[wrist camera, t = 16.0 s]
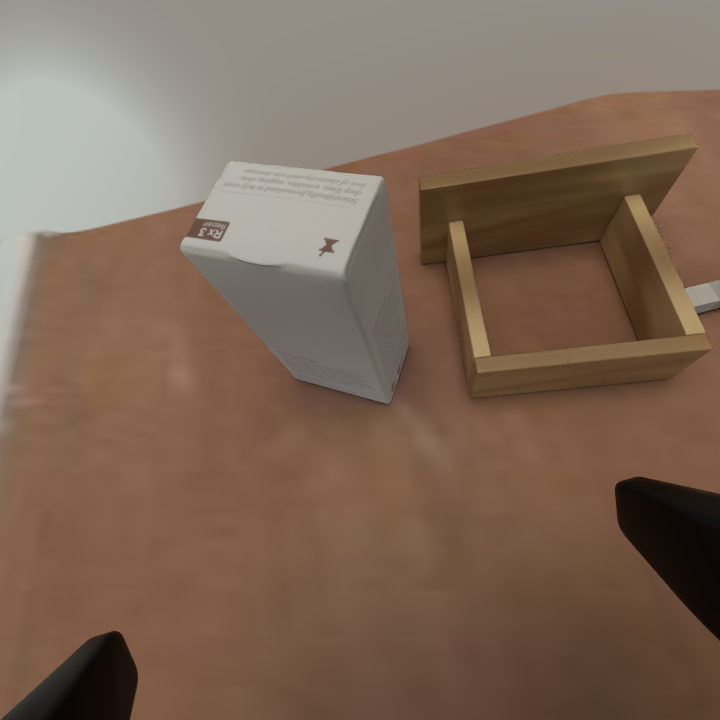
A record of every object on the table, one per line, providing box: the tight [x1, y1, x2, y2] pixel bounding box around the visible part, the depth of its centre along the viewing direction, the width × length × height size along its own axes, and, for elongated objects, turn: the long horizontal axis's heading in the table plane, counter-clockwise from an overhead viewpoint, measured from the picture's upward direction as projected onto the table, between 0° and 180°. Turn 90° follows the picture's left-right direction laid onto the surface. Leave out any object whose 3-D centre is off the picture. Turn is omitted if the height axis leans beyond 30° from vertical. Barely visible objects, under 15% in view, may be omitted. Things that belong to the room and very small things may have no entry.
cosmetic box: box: [180, 161, 410, 404], centre depth 18 cm, size 6×4×12 cm
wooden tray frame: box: [418, 133, 712, 398], centre depth 21 cm, size 10×13×6 cm
